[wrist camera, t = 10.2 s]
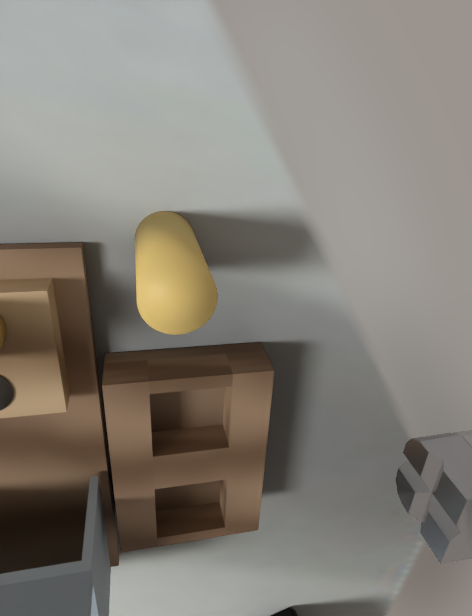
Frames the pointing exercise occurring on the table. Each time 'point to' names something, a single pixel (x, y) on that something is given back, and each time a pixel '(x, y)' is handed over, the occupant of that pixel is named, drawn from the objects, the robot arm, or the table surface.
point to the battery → (287, 613)
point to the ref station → (48, 408)
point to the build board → (187, 441)
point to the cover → (65, 576)
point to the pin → (172, 275)
